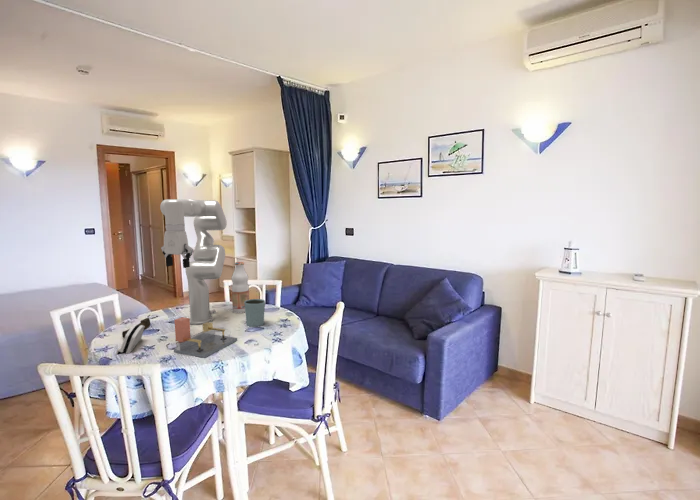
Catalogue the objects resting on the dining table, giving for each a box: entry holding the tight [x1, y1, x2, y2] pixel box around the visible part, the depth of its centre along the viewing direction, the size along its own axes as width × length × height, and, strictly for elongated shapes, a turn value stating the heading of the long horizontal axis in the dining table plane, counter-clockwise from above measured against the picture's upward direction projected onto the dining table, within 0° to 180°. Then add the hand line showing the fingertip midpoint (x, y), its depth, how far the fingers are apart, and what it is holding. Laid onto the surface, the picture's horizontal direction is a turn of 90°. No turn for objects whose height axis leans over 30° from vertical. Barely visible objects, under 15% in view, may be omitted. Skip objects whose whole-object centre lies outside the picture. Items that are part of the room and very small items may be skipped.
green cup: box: [244, 298, 266, 328], centre depth 186 cm, size 10×10×12 cm
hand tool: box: [121, 317, 151, 339], centre depth 176 cm, size 19×4×5 cm, turn 176°
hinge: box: [115, 323, 145, 355], centre depth 158 cm, size 17×5×10 cm, turn 15°
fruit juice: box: [231, 261, 250, 314], centre depth 209 cm, size 9×9×28 cm
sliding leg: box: [173, 316, 201, 350], centre depth 151 cm, size 4×11×12 cm, turn 69°
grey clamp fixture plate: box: [173, 322, 238, 359], centre depth 157 cm, size 20×16×7 cm
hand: (178, 266), depth 164 cm, fingers open, 9 cm apart
